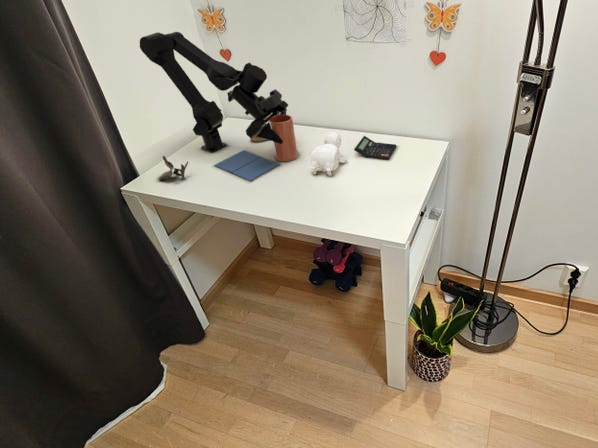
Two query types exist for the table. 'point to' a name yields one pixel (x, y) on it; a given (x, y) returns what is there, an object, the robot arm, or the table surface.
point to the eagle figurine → (172, 170)
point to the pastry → (257, 138)
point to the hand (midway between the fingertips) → (287, 138)
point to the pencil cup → (284, 137)
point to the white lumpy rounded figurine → (327, 154)
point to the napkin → (247, 165)
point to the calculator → (374, 149)
